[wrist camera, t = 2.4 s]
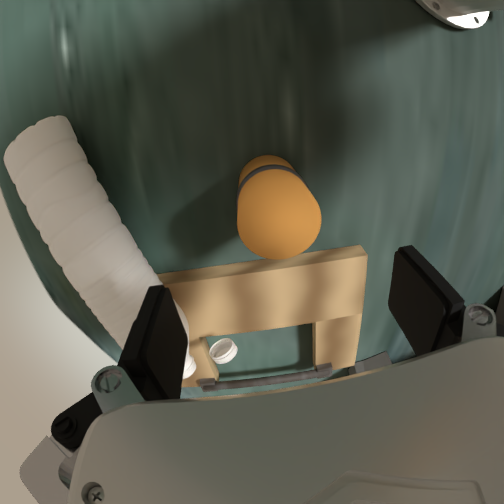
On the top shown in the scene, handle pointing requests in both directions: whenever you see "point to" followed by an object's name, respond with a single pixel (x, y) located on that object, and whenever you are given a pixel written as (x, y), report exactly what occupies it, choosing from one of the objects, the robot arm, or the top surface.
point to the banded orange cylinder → (275, 209)
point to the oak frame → (274, 308)
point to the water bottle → (86, 230)
